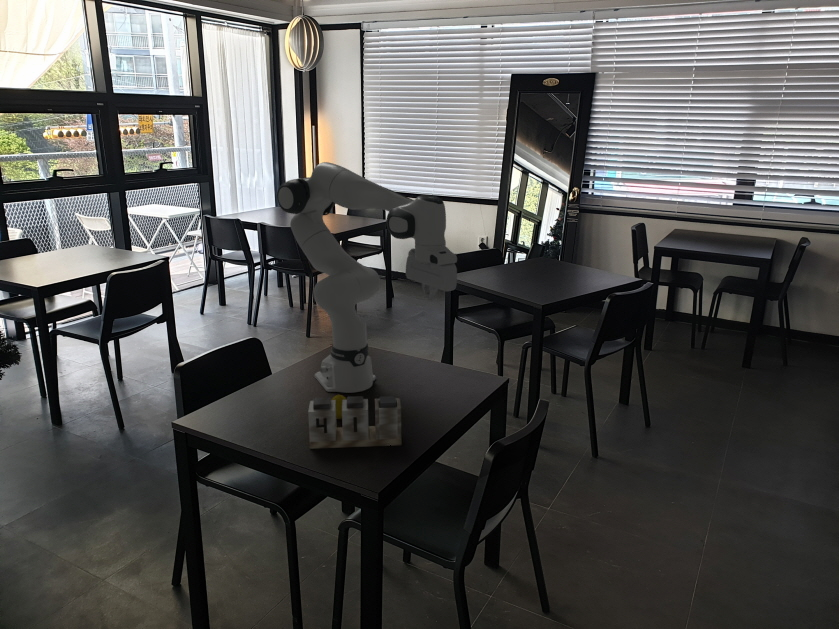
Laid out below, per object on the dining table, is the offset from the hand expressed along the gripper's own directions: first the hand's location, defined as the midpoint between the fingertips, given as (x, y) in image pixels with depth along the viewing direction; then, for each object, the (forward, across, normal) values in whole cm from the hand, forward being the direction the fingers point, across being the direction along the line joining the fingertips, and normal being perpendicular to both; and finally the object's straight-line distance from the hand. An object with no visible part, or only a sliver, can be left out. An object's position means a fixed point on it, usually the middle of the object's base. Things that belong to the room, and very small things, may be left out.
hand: (429, 299), depth 189 cm
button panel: (+35, +4, -28) cm, 45 cm away
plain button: (+30, +8, -21) cm, 37 cm away
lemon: (+35, -10, -26) cm, 45 cm away
